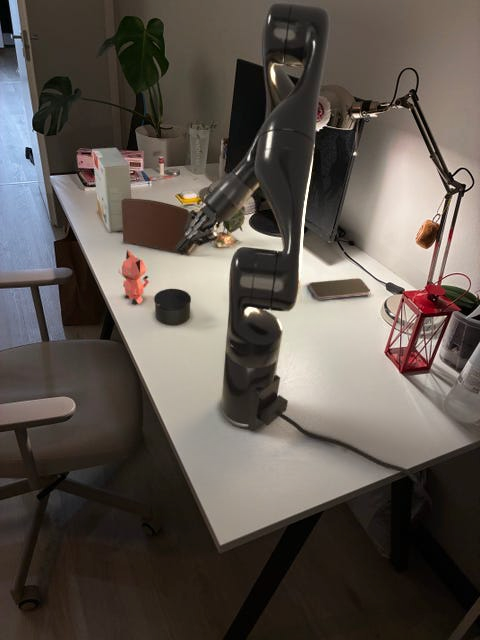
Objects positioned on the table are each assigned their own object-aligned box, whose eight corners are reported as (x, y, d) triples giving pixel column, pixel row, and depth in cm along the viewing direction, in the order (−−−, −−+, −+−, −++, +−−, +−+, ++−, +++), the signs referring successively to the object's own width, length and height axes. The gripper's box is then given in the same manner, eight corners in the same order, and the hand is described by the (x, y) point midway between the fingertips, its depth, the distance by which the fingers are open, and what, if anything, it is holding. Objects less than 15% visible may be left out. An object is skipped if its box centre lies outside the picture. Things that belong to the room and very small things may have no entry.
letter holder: (188, 255, 141) (189, 208, 133) (122, 243, 144) (119, 196, 136) (199, 240, 149) (200, 195, 141) (136, 229, 152) (134, 183, 144)
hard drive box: (97, 211, 160) (91, 148, 149) (121, 209, 163) (117, 147, 152) (108, 232, 149) (103, 166, 137) (134, 229, 152) (130, 164, 140)
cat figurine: (115, 295, 122) (112, 251, 115) (140, 287, 126) (138, 244, 119) (130, 309, 118) (127, 265, 111) (155, 300, 122) (154, 257, 115)
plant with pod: (249, 245, 149) (256, 179, 138) (214, 250, 145) (218, 183, 133) (238, 233, 155) (243, 169, 144) (204, 238, 151) (206, 172, 139)
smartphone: (308, 282, 133) (360, 277, 136) (307, 286, 134) (359, 281, 137) (317, 297, 127) (372, 292, 130) (317, 301, 128) (371, 295, 131)
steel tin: (197, 316, 118) (198, 299, 115) (171, 330, 113) (170, 313, 110) (174, 301, 122) (174, 284, 120) (147, 314, 117) (146, 297, 114)
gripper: (207, 177, 119) (158, 230, 122) (231, 198, 110) (177, 255, 112) (226, 196, 124) (179, 247, 127) (250, 217, 115) (198, 272, 117)
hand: (178, 251), depth 119 cm, fingers closed
